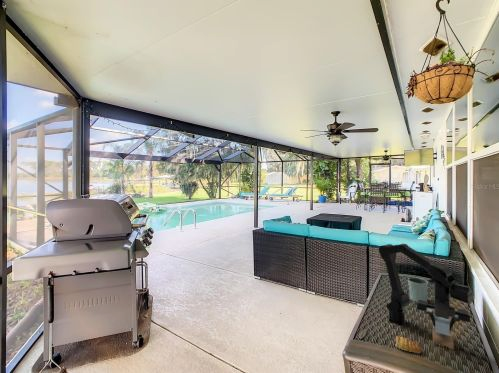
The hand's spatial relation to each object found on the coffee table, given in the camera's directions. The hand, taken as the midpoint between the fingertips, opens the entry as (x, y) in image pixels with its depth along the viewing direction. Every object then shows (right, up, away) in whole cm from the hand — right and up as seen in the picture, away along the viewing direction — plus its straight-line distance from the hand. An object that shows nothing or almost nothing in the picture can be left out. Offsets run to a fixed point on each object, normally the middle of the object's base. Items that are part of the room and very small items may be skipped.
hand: (442, 328), depth 111 cm
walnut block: (0, -6, 0) cm, 6 cm away
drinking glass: (+16, -6, +40) cm, 44 cm away
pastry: (-18, -7, -3) cm, 20 cm away
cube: (0, -1, 0) cm, 1 cm away
